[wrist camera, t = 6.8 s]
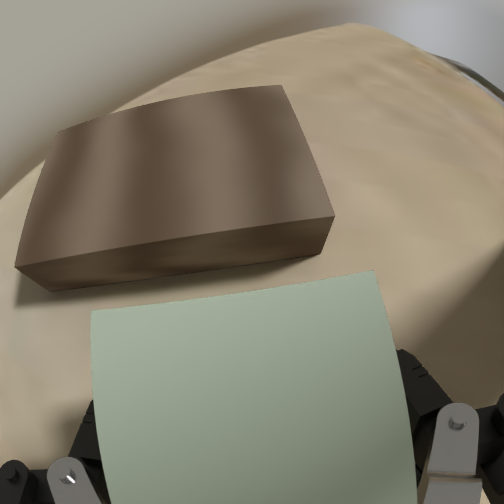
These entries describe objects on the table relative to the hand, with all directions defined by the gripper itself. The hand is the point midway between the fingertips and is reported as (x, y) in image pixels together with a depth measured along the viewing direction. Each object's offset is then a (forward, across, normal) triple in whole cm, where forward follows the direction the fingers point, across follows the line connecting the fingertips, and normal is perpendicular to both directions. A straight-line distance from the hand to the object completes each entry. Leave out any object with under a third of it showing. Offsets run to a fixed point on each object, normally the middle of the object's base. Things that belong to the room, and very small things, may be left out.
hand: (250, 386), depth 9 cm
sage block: (+3, 0, +5) cm, 5 cm away
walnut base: (+13, +4, -5) cm, 15 cm away
